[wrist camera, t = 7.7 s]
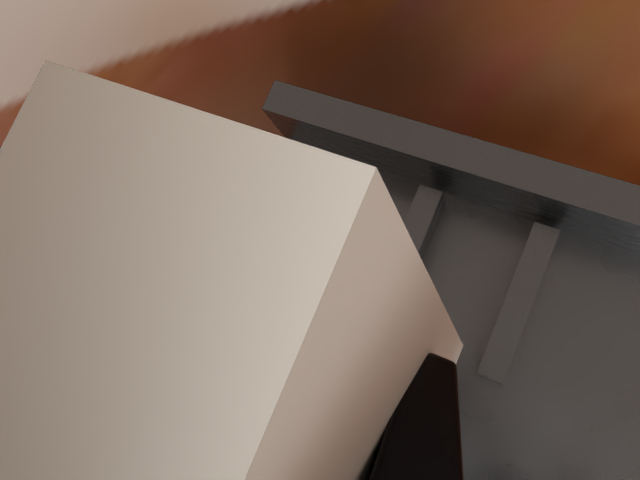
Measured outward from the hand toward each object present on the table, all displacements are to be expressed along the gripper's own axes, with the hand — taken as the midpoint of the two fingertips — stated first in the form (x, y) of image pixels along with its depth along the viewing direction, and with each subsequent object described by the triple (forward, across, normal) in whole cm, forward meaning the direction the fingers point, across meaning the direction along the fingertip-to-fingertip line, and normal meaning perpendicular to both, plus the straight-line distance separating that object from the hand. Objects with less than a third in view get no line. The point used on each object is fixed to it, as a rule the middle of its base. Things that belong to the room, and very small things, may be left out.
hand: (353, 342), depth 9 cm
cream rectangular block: (+3, 0, +5) cm, 6 cm away
